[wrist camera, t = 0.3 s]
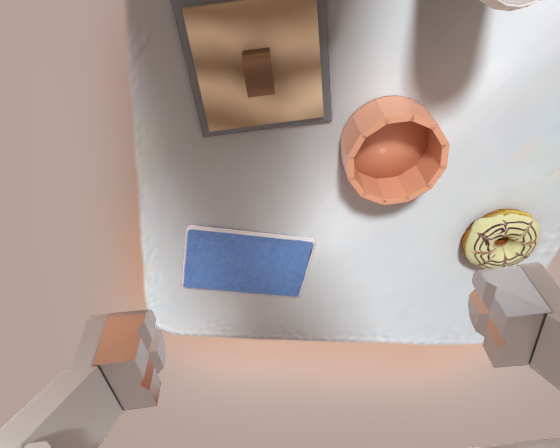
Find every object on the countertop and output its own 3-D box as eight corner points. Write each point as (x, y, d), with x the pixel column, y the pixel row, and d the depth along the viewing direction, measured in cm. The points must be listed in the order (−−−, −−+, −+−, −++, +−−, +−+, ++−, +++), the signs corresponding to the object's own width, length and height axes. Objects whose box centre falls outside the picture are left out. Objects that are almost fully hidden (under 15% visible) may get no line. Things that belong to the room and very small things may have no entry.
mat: (171, -3, 49) (171, -2, 49) (323, -24, 49) (324, -23, 48) (204, 135, 59) (203, 137, 58) (330, 118, 59) (331, 120, 58)
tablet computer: (317, 235, 70) (318, 241, 69) (299, 294, 78) (300, 300, 77) (186, 220, 68) (185, 226, 66) (181, 283, 75) (180, 289, 74)
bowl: (338, 102, 57) (346, 122, 53) (436, 89, 57) (453, 108, 52) (341, 185, 65) (348, 209, 60) (429, 174, 64) (443, 197, 60)
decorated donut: (459, 211, 69) (468, 227, 66) (534, 196, 68) (547, 211, 65) (459, 263, 75) (468, 279, 72) (528, 249, 74) (540, 265, 71)
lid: (182, 7, 49) (177, 17, 46) (315, -11, 49) (320, -2, 46) (209, 128, 58) (207, 145, 54) (323, 114, 57) (327, 129, 54)
